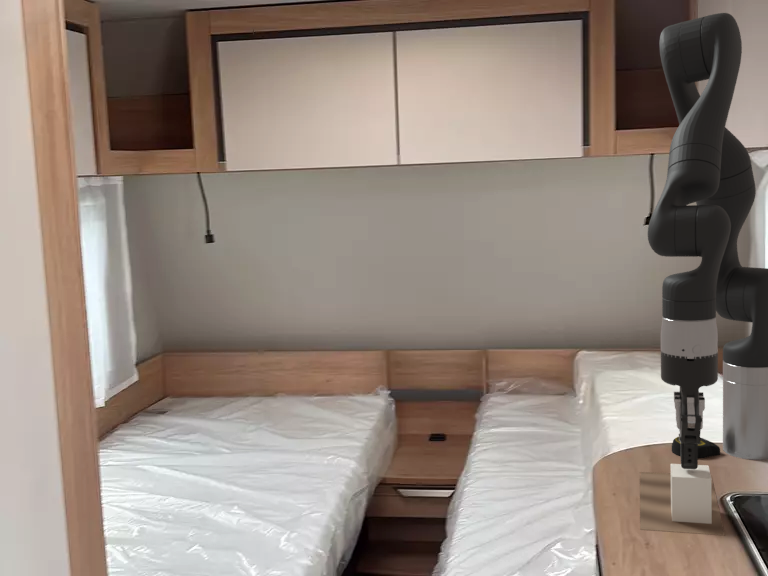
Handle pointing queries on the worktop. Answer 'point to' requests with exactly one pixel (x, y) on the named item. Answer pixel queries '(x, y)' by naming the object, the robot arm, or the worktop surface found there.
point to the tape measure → (704, 448)
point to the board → (659, 508)
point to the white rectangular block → (691, 494)
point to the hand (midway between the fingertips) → (689, 467)
